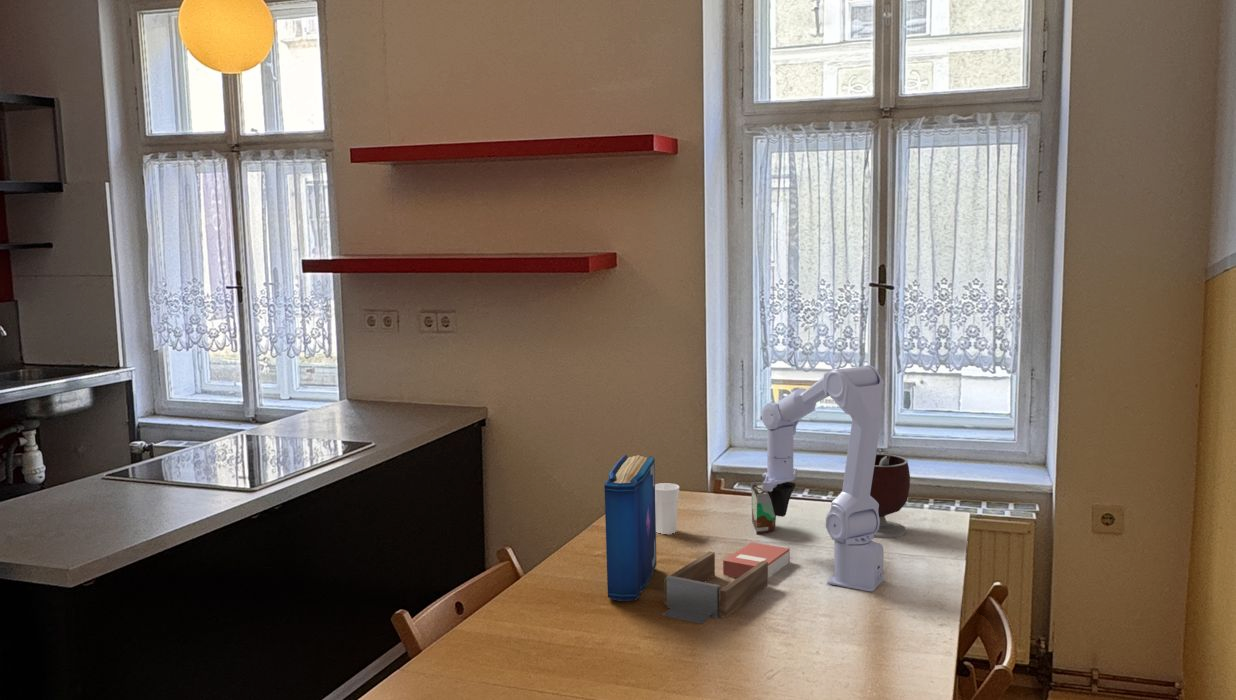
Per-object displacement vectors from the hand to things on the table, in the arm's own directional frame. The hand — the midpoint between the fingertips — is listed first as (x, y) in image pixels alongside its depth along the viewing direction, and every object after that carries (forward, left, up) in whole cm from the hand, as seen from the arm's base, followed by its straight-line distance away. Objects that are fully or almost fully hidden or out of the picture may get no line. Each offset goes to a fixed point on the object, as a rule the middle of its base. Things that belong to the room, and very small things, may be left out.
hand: (780, 515), depth 221 cm
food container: (+9, -14, -8) cm, 19 cm away
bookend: (0, +43, -8) cm, 44 cm away
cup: (+29, 0, -8) cm, 31 cm away
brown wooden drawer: (0, +31, -8) cm, 32 cm away
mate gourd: (-15, -25, -8) cm, 30 cm away
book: (+17, +35, -8) cm, 40 cm away
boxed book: (0, +13, -9) cm, 16 cm away
